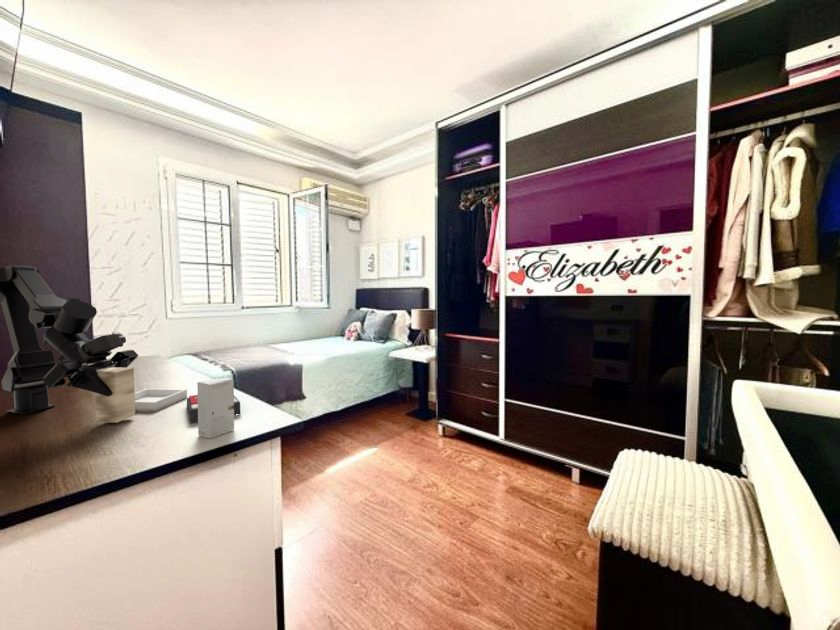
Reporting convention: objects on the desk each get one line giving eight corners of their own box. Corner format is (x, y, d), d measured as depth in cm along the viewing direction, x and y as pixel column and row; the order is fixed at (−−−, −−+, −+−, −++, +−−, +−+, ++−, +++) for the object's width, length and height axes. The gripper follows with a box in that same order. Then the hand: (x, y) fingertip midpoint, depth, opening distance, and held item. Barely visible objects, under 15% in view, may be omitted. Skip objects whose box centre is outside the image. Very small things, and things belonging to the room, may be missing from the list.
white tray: (109, 410, 90) (109, 401, 90) (146, 396, 102) (146, 388, 102) (155, 411, 90) (154, 402, 89) (187, 397, 102) (186, 389, 102)
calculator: (231, 389, 100) (240, 399, 88) (231, 403, 100) (240, 415, 88) (186, 395, 94) (189, 407, 82) (186, 410, 94) (190, 424, 82)
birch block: (96, 422, 80) (94, 371, 79) (115, 414, 85) (113, 367, 84) (117, 422, 80) (115, 372, 79) (135, 414, 84) (133, 367, 84)
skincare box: (210, 439, 73) (208, 384, 73) (196, 435, 75) (195, 382, 74) (235, 429, 79) (235, 378, 78) (223, 426, 81) (222, 376, 80)
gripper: (53, 326, 71) (107, 378, 72) (130, 319, 90) (172, 361, 91) (18, 362, 72) (72, 414, 72) (102, 348, 90) (144, 389, 91)
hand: (121, 391), depth 82 cm, fingers closed on birch block, 5 cm apart
